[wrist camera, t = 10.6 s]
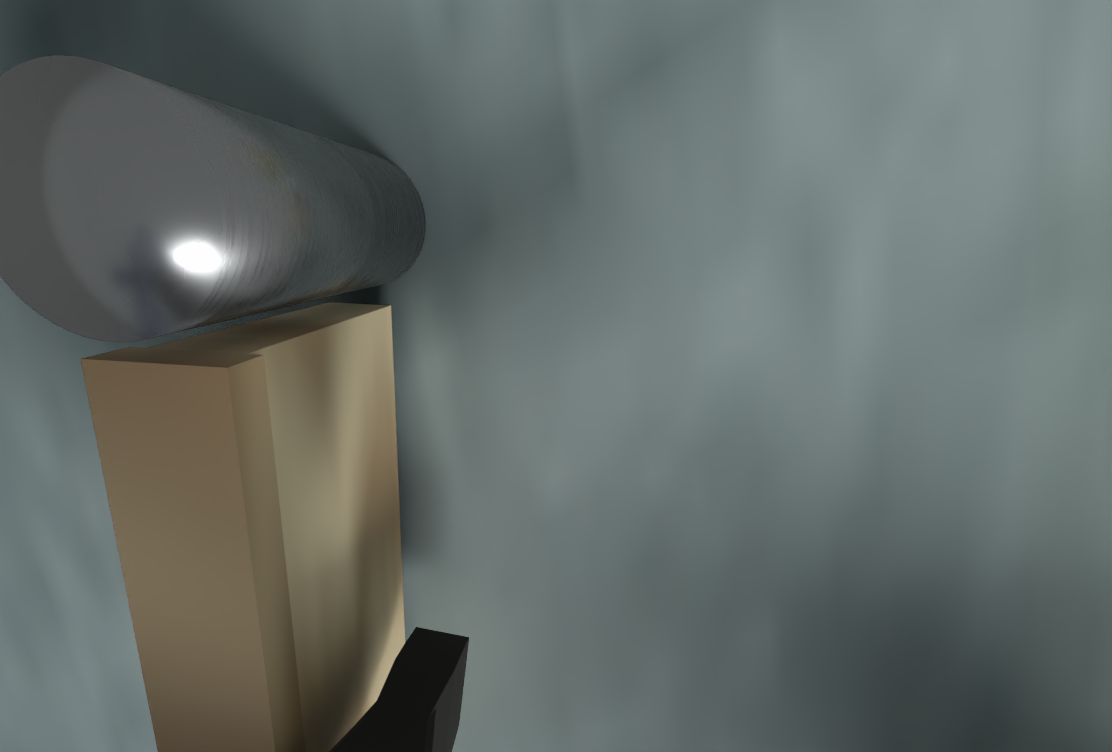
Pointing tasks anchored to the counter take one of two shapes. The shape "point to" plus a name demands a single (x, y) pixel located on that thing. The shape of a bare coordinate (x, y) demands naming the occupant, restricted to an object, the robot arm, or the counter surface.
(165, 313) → the hinge post
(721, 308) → the counter surface
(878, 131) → the counter surface
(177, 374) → the gate
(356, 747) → the robot arm
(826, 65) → the counter surface
